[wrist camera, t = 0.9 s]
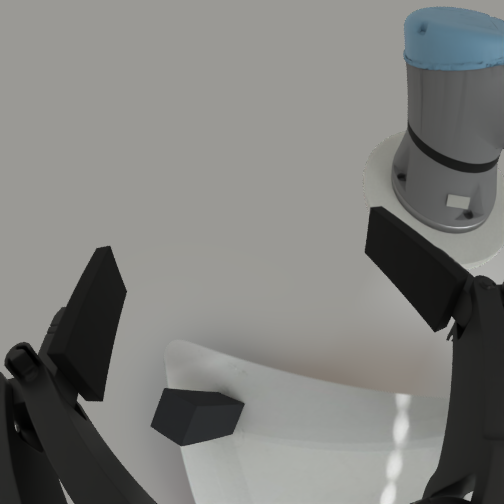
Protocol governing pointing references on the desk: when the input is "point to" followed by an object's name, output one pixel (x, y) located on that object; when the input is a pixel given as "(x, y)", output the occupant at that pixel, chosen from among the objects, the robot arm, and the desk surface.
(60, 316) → the robot arm
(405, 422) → the desk surface
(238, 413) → the black rectangular block
